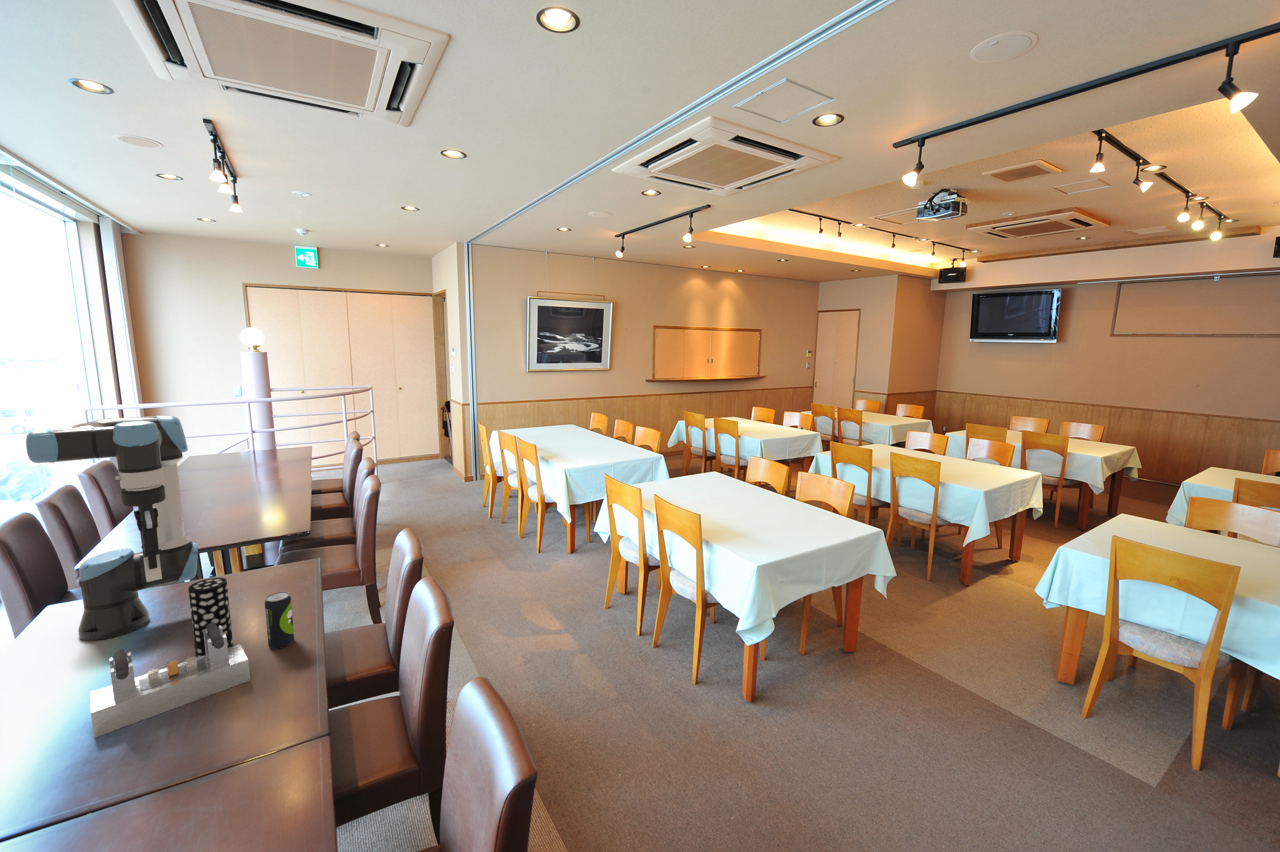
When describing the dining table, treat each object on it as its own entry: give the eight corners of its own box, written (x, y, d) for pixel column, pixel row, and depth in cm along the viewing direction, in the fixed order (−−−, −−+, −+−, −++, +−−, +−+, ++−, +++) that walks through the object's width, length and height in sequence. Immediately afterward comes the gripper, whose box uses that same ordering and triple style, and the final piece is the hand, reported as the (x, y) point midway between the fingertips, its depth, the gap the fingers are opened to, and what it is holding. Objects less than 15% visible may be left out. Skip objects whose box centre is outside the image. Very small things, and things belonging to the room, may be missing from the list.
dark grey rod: (206, 631, 135) (205, 624, 134) (216, 628, 136) (215, 621, 136) (215, 651, 126) (214, 643, 126) (225, 648, 127) (224, 640, 127)
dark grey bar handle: (114, 658, 122) (113, 650, 122) (126, 654, 124) (125, 647, 124) (116, 682, 114) (115, 674, 113) (129, 678, 115) (128, 670, 115)
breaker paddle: (167, 672, 126) (166, 663, 126) (177, 669, 127) (176, 660, 127) (168, 676, 125) (167, 666, 124) (178, 673, 126) (177, 663, 126)
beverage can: (263, 647, 149) (259, 598, 147) (285, 636, 154) (281, 589, 152) (277, 652, 146) (273, 603, 144) (299, 641, 152) (295, 593, 150)
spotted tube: (211, 660, 142) (204, 592, 139) (187, 656, 144) (180, 588, 141) (240, 643, 150) (234, 579, 147) (217, 640, 152) (210, 576, 149)
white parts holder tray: (93, 715, 120) (86, 662, 118) (242, 664, 140) (237, 618, 139) (94, 737, 113) (86, 682, 111) (250, 680, 134) (245, 632, 132)
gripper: (118, 483, 123) (130, 575, 127) (122, 495, 115) (135, 593, 118) (160, 478, 129) (171, 566, 133) (167, 489, 120) (178, 583, 124)
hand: (154, 579), depth 125 cm, fingers closed
